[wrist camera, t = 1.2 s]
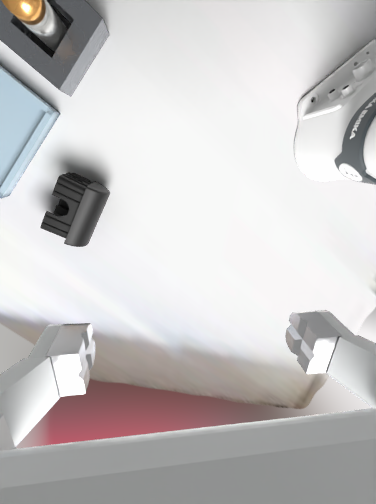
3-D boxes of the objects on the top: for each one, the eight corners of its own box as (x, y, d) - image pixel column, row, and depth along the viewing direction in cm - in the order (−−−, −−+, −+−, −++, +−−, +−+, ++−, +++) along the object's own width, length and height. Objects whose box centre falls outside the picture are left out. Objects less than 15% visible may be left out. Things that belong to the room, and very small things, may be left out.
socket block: (41, -34, 31) (22, -64, 27) (109, 34, 35) (102, 18, 30) (3, 39, 34) (-20, 22, 29) (70, 96, 37) (59, 89, 33)
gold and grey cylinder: (51, 13, 33) (8, -44, 23) (76, 36, 35) (44, -9, 25) (38, 37, 34) (-10, -7, 24) (62, 59, 35) (26, 25, 25)
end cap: (92, 237, 46) (83, 251, 40) (53, 220, 44) (37, 233, 38) (113, 189, 43) (107, 196, 37) (72, 168, 41) (58, 172, 35)
